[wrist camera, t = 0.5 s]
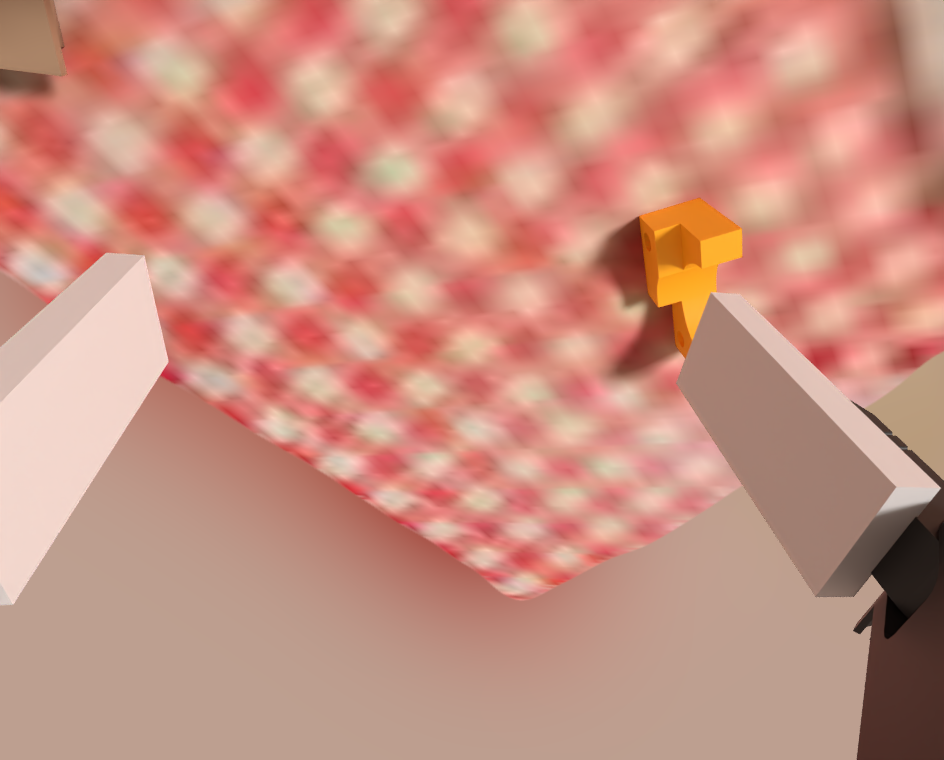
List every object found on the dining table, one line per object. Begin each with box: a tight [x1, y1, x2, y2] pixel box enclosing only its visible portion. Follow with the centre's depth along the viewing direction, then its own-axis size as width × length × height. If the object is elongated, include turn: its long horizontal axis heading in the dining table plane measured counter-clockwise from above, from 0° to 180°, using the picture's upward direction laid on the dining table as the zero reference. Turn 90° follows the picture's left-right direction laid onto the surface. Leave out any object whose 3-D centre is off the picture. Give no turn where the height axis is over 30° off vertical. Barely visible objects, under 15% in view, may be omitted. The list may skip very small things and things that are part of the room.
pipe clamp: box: [639, 198, 742, 359], centre depth 41 cm, size 12×4×6 cm, turn 16°
